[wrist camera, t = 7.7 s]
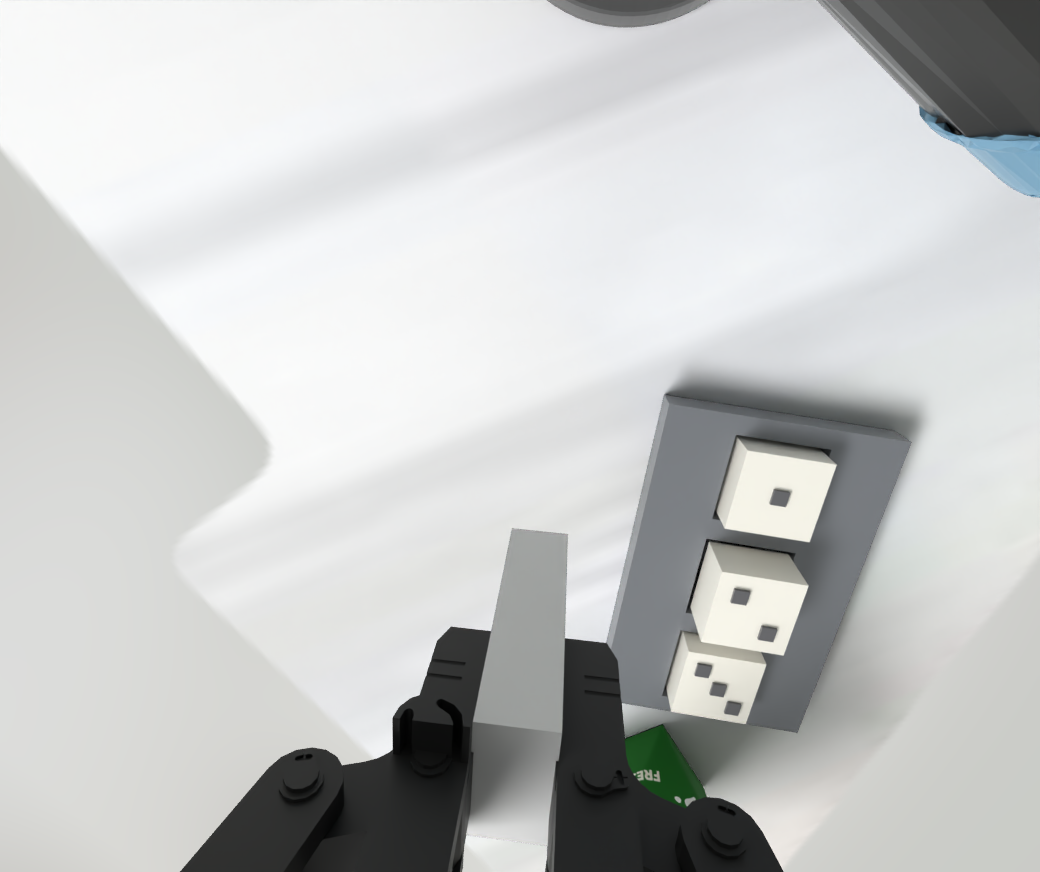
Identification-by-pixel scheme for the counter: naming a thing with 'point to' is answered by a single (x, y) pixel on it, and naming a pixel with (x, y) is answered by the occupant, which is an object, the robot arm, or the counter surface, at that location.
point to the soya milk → (662, 767)
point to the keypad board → (692, 519)
